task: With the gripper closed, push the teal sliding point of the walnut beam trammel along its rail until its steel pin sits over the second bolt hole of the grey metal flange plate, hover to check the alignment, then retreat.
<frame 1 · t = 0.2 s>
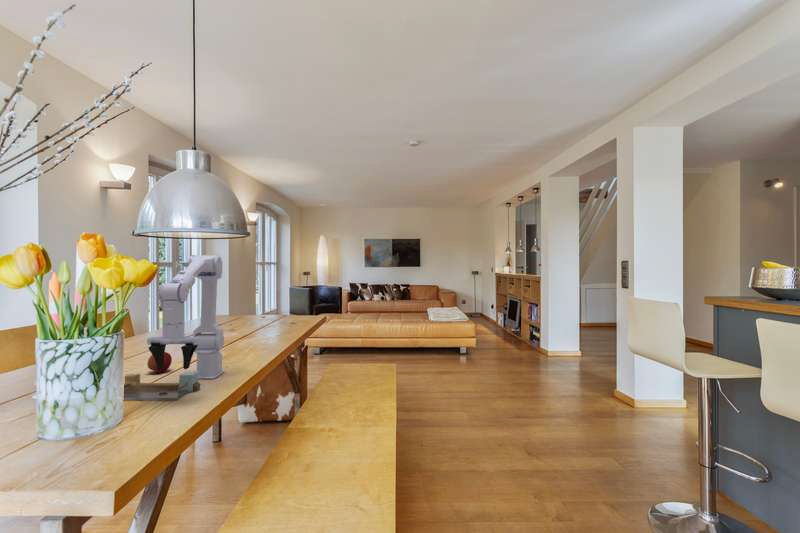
hand: (173, 368, 121), 10 cm above the table, fingers open, 7 cm apart
apple: (159, 372, 151), on the table
carriage: (185, 383, 129), point 3 cm above the table, slide at 0.0 cm
flange plate: (146, 396, 125), on the table
trammel rail: (160, 390, 131), on the table
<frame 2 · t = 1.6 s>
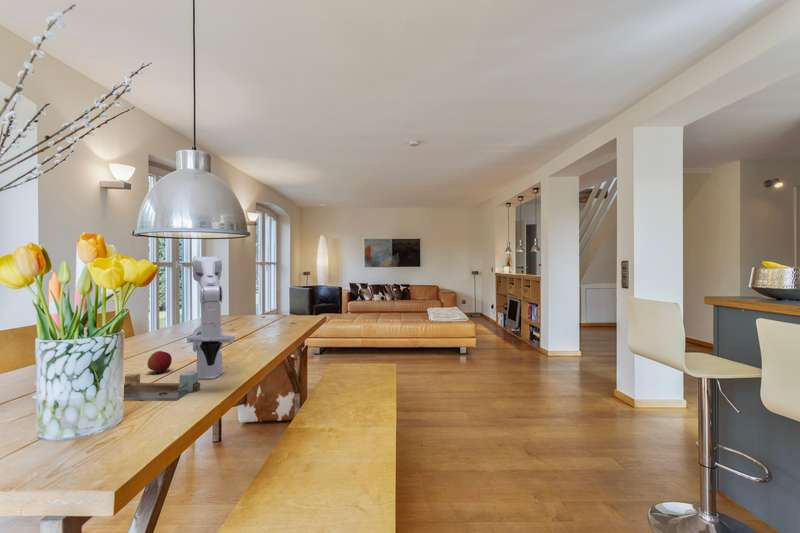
hand: (211, 364, 131), 8 cm above the table, fingers closed
nothing on the table moved.
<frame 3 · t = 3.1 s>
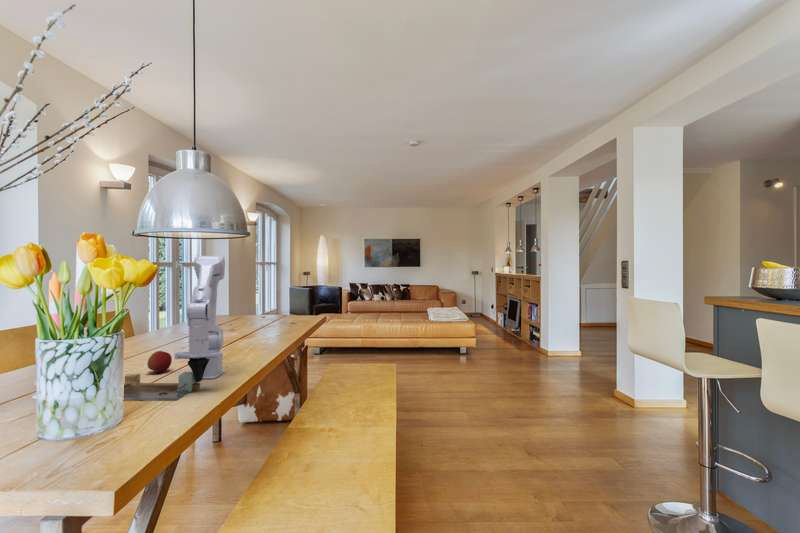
hand: (198, 381, 131), 3 cm above the table, fingers closed
carriage: (185, 383, 129), point 3 cm above the table, slide at 0.3 cm, touching gripper
everything else where it was.
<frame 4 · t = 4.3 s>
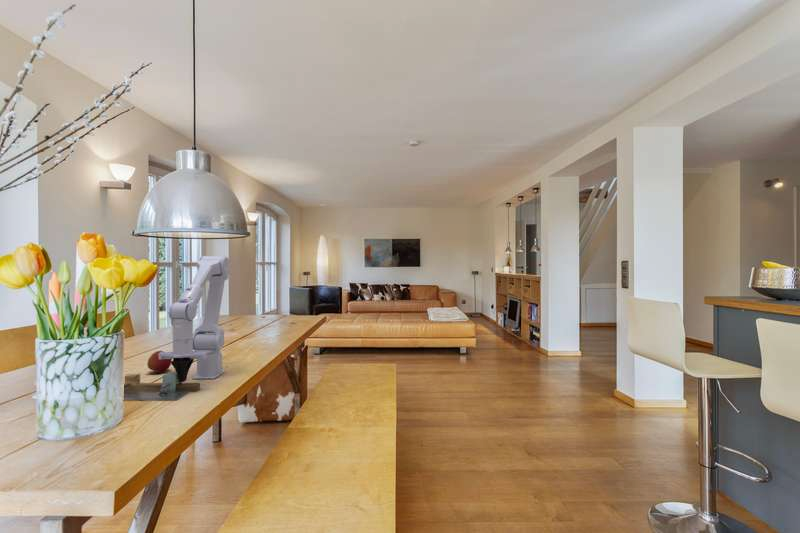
hand: (182, 381, 131), 3 cm above the table, fingers closed
carriage: (168, 383, 129), point 3 cm above the table, slide at 5.4 cm, touching gripper
everything else where it was.
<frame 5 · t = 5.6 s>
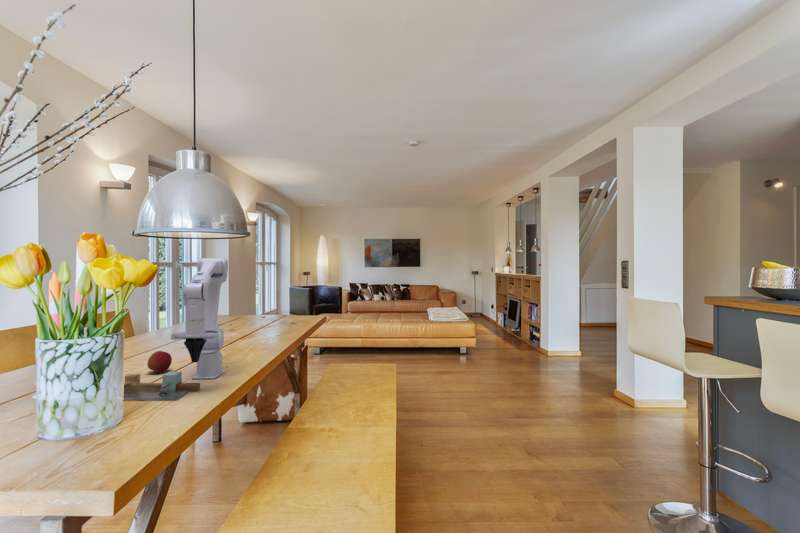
hand: (195, 361, 131), 9 cm above the table, fingers closed
carriage: (168, 383, 129), point 3 cm above the table, slide at 5.4 cm
everything else where it was.
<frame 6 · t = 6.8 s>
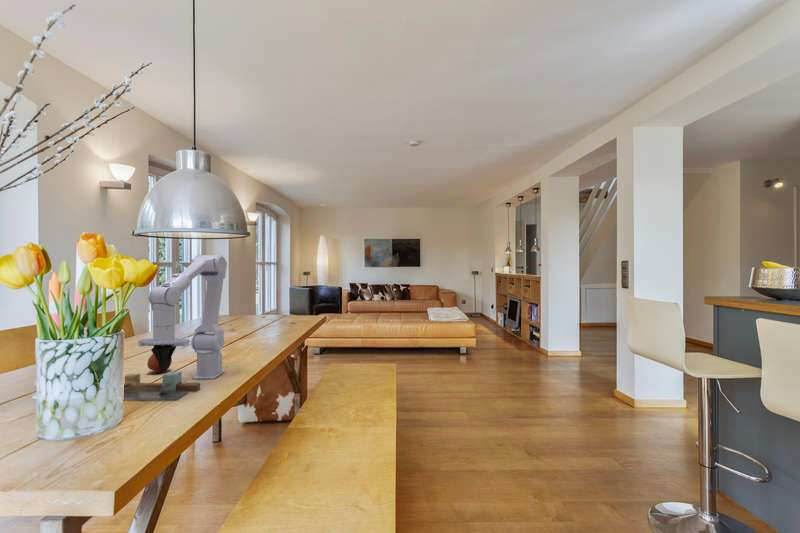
hand: (164, 369, 125), 8 cm above the table, fingers closed
nothing on the table moved.
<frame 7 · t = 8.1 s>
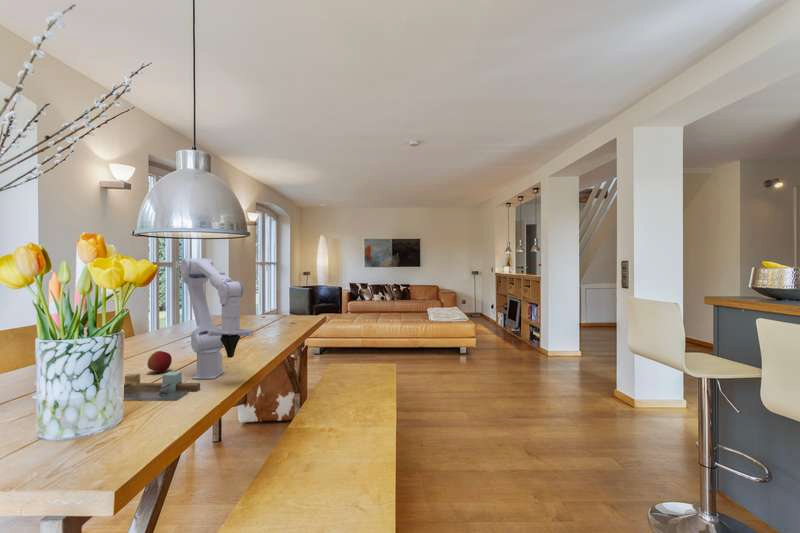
hand: (230, 357, 137), 9 cm above the table, fingers closed
nothing on the table moved.
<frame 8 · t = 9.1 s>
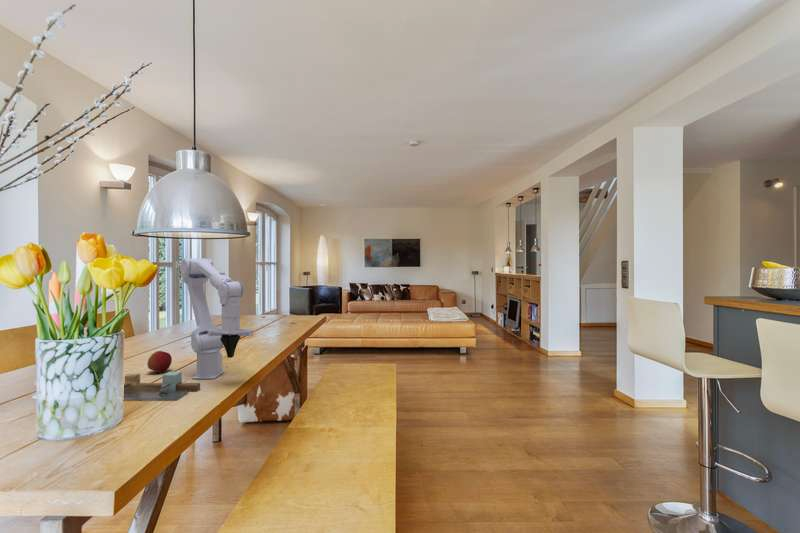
hand: (230, 357, 137), 9 cm above the table, fingers closed
nothing on the table moved.
at the end: carriage slide at 5.4 cm; the gripper is holding nothing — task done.
